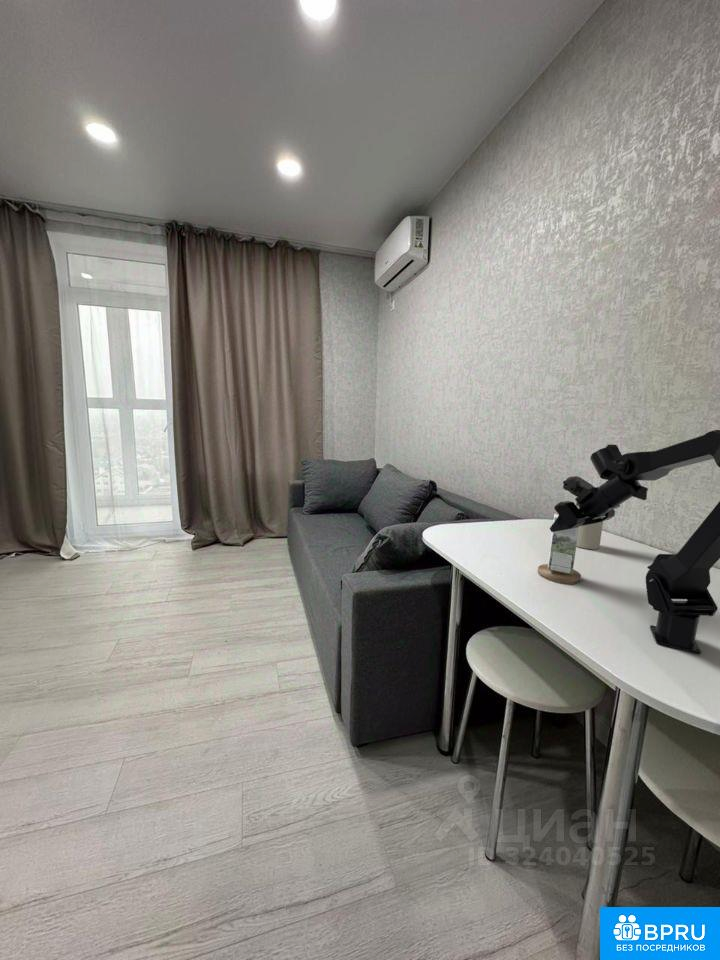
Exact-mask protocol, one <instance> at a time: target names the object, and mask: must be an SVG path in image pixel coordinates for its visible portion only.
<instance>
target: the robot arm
mask: <svg viewBox="0 0 720 960" xmlns="http://www.w3.org/2000/svg"><path fill="white" fill-rule="evenodd" d="M589 458H590V461H591V463H592V465H593V466H594V468H595V470H596V473H597V474H598V476H599V478H600V479H601V480H606V481H605V482H604V483H602V484H601V485H599V486H597V487H596V486H594V485H592V483H590V482H588V481H587V480H585V479H583V478H582V477H580V476H577V475H576V476H575V475H573V476H569V477H567V478H566V480H563V481H562V483H563V486H562V489H563V490H565V491H567V492H569V493H570V494H572V495H573V496H574V497H575V498H574V500H575V501H576V503H579V504H580V505H578V507H579V509H578V507H577V506H576V504H575V501H571V500H565V501H564V500H563V501H560V502H559V503H556V504H555V506H553V507H554V510H555V511H556V512H555V513H558V514H559V516H558V517H557V519H556V520H555V522H554V523H552V525H551V526H550V527H549V530H550V532H551V533H552V532H556V531H561V530H567V529H573V528H577V527H579V526H583V525H589V524H594V523H599V522H602V521H603V522H604V521H609V520H610V519H612V518H614V517H615V515H616V511H615V509H618V508H620V507H621V505H622V504H623V503H625V502H627V501H628V500H630V499H631V498H636V499H638V500H641V501H646V500H647V496H648V490H649V487H647V486H646V487H645V486H644V485H641V483H640V481H652V482H653V481H655V482H656V481H657V480H660V479H661V478H664V477H666V476H668V475H669V473H670V472H671V471H673V470H676V469H679V468H683V467H687V466H690V465H694V464H699V463H703V462H707V461H710V460H714V462H715V464H716V466H717V467H718V468H720V429H713V430H711V431H708V432H706V433H705V434H702V435H699V436H697V437H694V438H691V439H687V440H684V441H681V442H678V443H674V444H672V445H670V446H669V445H668V446H666V447H662V448H659V449H656V450H651V451H637V452H636V451H634V452H627V453H624V454H622V453H621V451H620V449H619V447H618V444H610V443H609V444H607V445H606V447H603V448H600V449H598V450H596V451H594V452H592V454H591V455H590V457H589ZM602 517H603V518H602ZM719 560H720V500H719V501H718V502H717V504H716V505H714V507H713V508H712V510H711V511H710V513H708V515H707V516H706V517H705V519H704V520H703V521H702V522H701V523H700V524H699V526H698V527H697V529H696V530H695V531H694V532H693V533H692V534H691V536H690V537H689V538H688V540H687V541H686V542H685V544H684V545H682V546H681V548H680V549H679V551H678V552H677V553H658V554H657V555H656V556H655V558H654V560H653V562H652V563H651V564H650V565H648V566H647V569H648V571H647V572H646V574H645V585H646V586H645V589H646V595H647V603H648V605H649V606H651V607H652V609H653V611H657V612H658V614H657V620H656V625H652V624H651V625H649V629H650V632H651V634H652V636H653V638H654V641H655V643H657V645H662V646H664V647H665V646H666V647H671V648H674V649H678V650H683V651H686V652H690V653H695V654H699V655H700V654H702V649H701V648H700V647H699V646H700V645H699V644H698V643H697V641H696V638H697V632H698V628H699V627H698V626H699V621H700V618H701V617H700V616H702V617H703V616H704V617H705V616H706V617H714V616H715V614H716V612H717V611H718V609H719V608H718V606H717V604H716V602H715V600H714V598H713V597H712V595H711V593H710V591H709V590H708V588H709V586H710V584H711V573H710V571H711V569H712V567H714V565H715V564H716V563H717V562H718V561H719Z"/></svg>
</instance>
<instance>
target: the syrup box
mask: <svg viewBox="0 0 720 960" xmlns="http://www.w3.org/2000/svg"><path fill="white" fill-rule="evenodd" d="M558 516H559V514H558V513H557V512H555V513H554V515H553V521H552V522H553V523H554V522H555V520H556V519H557V517H558ZM553 523H552V524H553ZM578 532H579V527H577V528H573V529H567V530H561V531H556V532H551V537H550V538H551V539H550V544H549V545H550V546H549V553H548V560H547V564H548V570H550V571H555V572H560V573H565V574H571V575H572V573H573V569H574V564H575V561H576V560H575V558H576V557H575V556H576V551H577V539H578Z"/></svg>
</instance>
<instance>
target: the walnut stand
mask: <svg viewBox="0 0 720 960" xmlns="http://www.w3.org/2000/svg"><path fill="white" fill-rule="evenodd" d="M537 574H538V575H539V576H540V577H542V578H543V579H545V580H547V581H550V582H553V583H557V584H565V585H575V584H579V583H580V582H581V579H582V574H581V573H580V572H579V571H577V570H576V569H574V568H573V573H572V575H571V574H565V573H560V572H555V571H550V570H548V563H546V564H541V565H539V566H538V567H537Z"/></svg>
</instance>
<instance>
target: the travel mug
mask: <svg viewBox="0 0 720 960" xmlns="http://www.w3.org/2000/svg"><path fill="white" fill-rule="evenodd" d="M575 505H576V506H577V507H578V505H580V504H579V503H577V502H576V504H575ZM578 509H579V507H578ZM602 518H603V517H602ZM603 525H604V521H602V522H599V523H594V524H589V525H583V526H579V532H578V539H577V546H576V548H577V547H578V548H581V549H585V550H597V549H600V545H601V539H602V533H603V532H602V531H603V527H604V526H603Z"/></svg>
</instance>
